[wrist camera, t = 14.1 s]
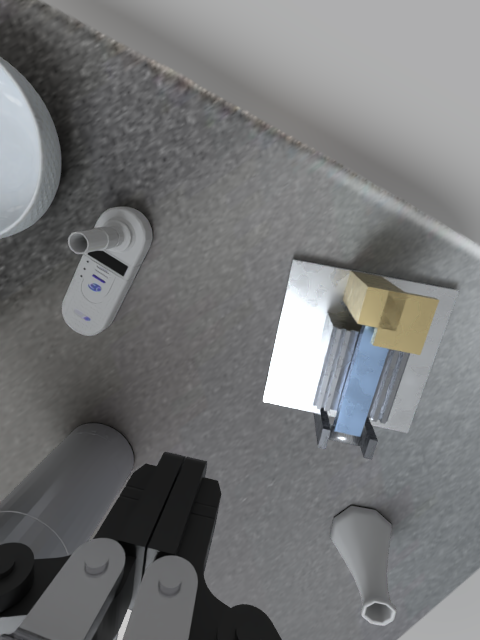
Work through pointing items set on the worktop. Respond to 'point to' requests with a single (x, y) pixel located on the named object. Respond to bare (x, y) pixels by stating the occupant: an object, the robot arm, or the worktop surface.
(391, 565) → the worktop surface
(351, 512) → the flask
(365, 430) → the clip base
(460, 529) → the worktop surface
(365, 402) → the blue bar
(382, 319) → the block
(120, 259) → the electronic device
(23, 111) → the cereal bowl
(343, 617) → the worktop surface
